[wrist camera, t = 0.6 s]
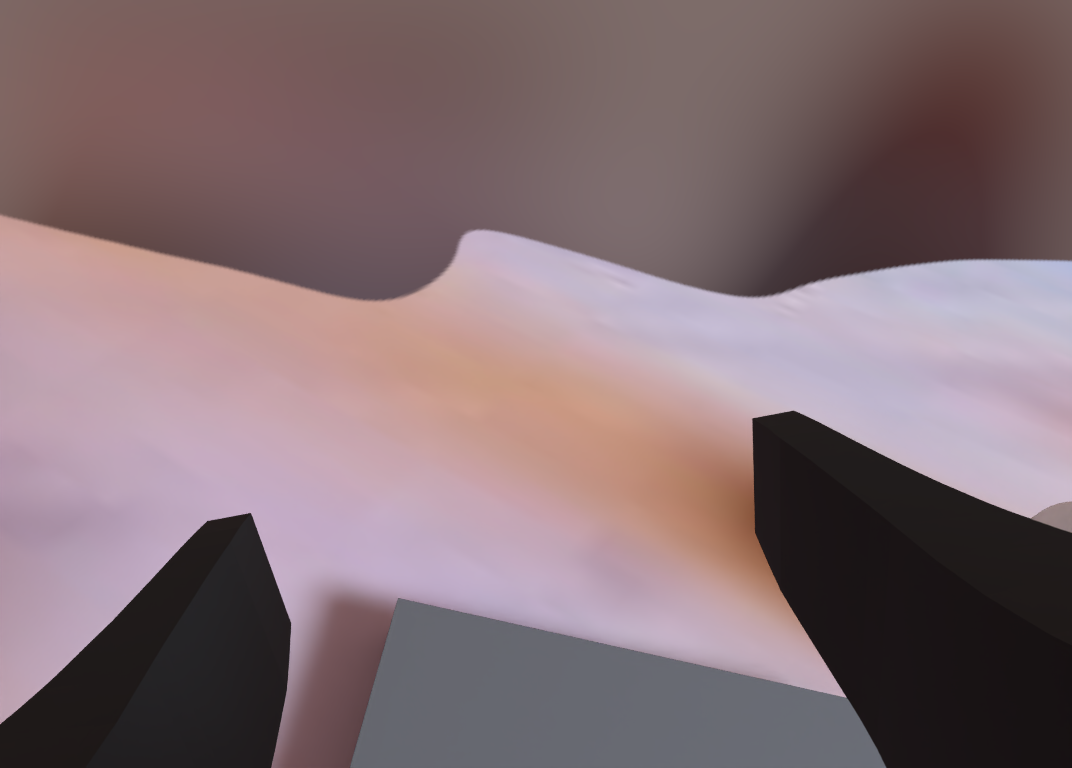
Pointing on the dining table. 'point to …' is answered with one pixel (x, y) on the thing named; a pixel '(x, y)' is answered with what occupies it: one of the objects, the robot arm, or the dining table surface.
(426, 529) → the dining table surface
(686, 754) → the socket block
